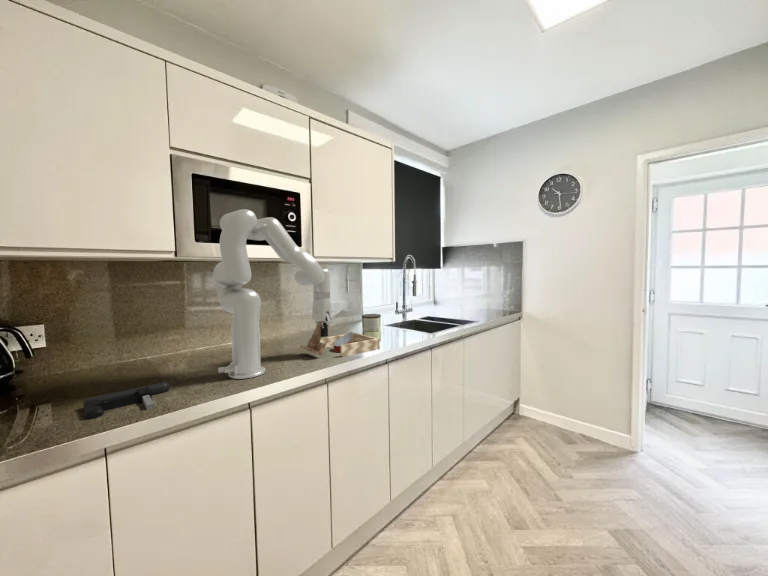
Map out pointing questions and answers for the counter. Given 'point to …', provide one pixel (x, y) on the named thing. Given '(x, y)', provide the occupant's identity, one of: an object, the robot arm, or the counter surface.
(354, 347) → the box
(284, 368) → the counter surface
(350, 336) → the canned food
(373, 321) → the coffee can
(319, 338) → the upright wooden block
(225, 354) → the counter surface
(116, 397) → the door handle
